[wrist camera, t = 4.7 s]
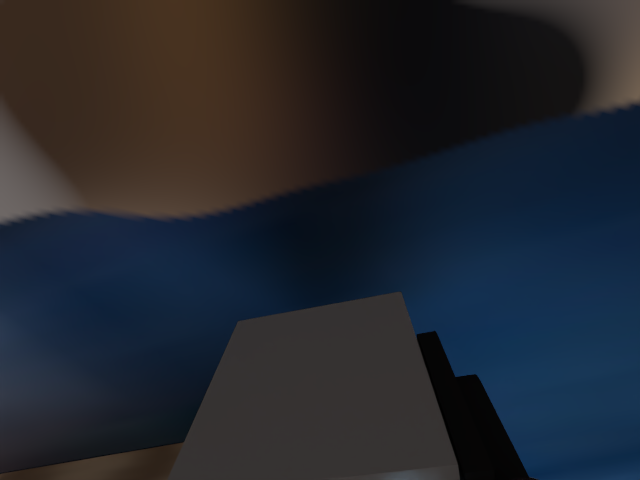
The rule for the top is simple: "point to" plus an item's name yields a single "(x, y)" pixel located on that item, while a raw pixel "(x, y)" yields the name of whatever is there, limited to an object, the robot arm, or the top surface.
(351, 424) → the cube
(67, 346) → the top surface
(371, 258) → the top surface
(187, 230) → the top surface
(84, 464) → the frame
